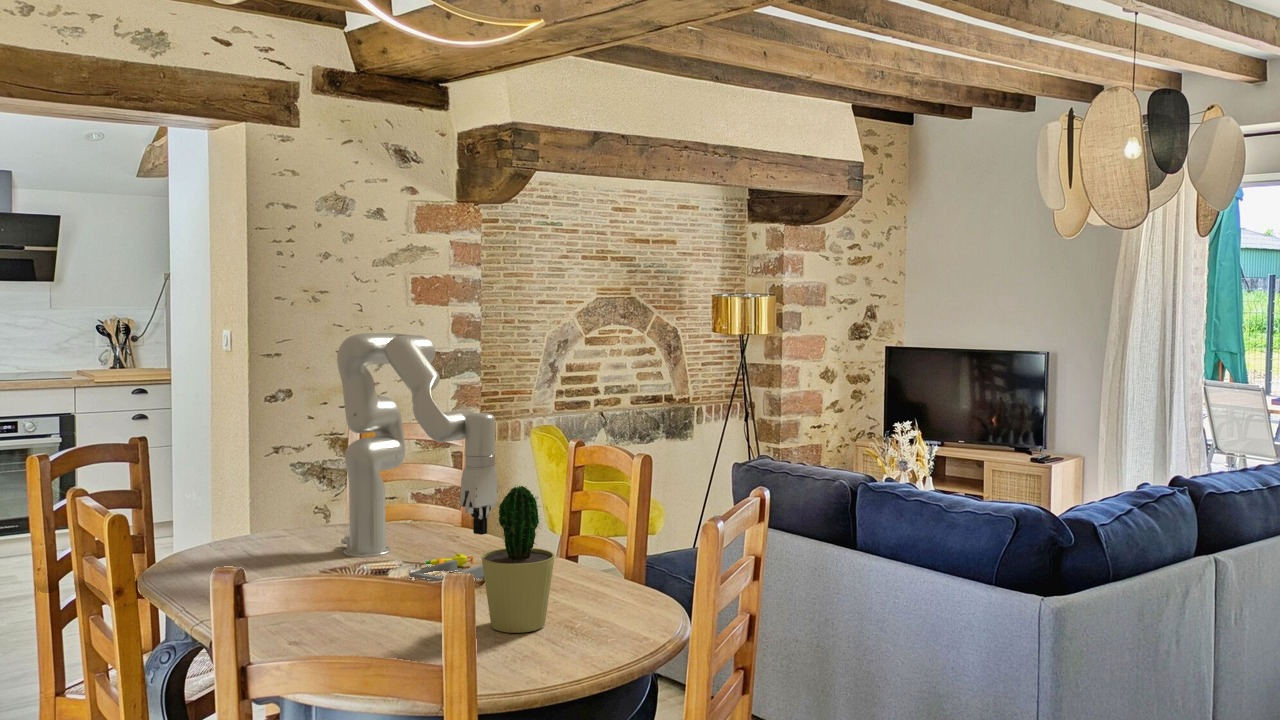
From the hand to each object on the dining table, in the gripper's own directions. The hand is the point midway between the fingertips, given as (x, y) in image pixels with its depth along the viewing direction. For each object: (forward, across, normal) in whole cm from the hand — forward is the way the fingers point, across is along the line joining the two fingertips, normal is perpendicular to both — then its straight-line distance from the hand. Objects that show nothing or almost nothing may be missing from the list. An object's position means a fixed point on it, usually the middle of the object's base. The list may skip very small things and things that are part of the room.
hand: (480, 533), depth 268 cm
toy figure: (+8, -2, -4) cm, 9 cm away
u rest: (+10, +12, 0) cm, 16 cm away
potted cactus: (+10, +32, +36) cm, 50 cm away
